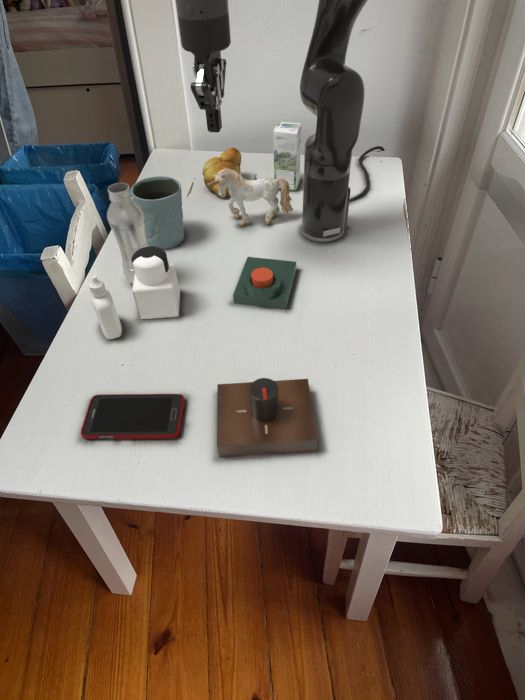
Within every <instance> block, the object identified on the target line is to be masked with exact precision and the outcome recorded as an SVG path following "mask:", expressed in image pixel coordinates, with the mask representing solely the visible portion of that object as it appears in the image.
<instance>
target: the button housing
mask: <svg viewBox="0 0 525 700" xmlns="http://www.w3.org/2000/svg"><path fill="white" fill-rule="evenodd" d="M257 268H268V269H270V270H271V271H272V272H273V284H272V285H271V286H270V287H266V288H257V287H255V286H253V284H252V278H251V274H252V272H253V271H254V270H255V269H257ZM296 273H297V261H293V260H283V259H274V258H263V257H255V256H247V257H246V260H245V262H244V265H243V268H242V271H241V273H240V276H239V277H238V278H239V279H238V281H237V283H236V285H235V289H234V292H233V294H232V297H233V304H234V305H242V306H243V305H244V306H250V307H251V306H253V307H259V308H268V309H276V310H287V307H288V303H289V300H290V297H291V296H290V295H291V292H292V288H293V284H294V280H295V277H296Z"/></svg>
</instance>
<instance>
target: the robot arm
mask: <svg viewBox="0 0 525 700" xmlns="http://www.w3.org/2000/svg"><path fill="white" fill-rule="evenodd" d="M174 1H175V7H176V15H177V23H178V29H179V37H180V43H181V47H182V49H183V50H184V51H186V52H188V53H191V54H192V55H193V57H194V58H193V64H192V70H193V71H192V72H193V76H194V78H195V82H194V81H192V82H191V83H190V90H191V93H192V95H193V97H194V99H195V102H196V104H197V106H198V108H199V110H201V111H202V110H204V111H205V119H206V127H207V131H208V132H209V133H220V132H221V130H222V128H223V121H222V111H221V106H222V104H223V100H222V99H224V97H225V86H226V85H225V84H226V72H227V71H226V70H227V59H226V58H221V57H222V51H224V50H226V49H228V48H229V47H230V46H231V44H232V43H231V42H232V40H231V24H230V12H229V0H174ZM367 2H368V0H318V3H317V11H316V15H315V21H314V26H313V30H312V34H311V37H310V41H309V45H308V48H307V53H306V57H305V60H304V63H303V64H304V65H303V67H302V72H301V75H300V81H299V82H300V83H299V94H300V96H299V97H300V100H301V102H302V104H303V106H304V107H305V109H307V110H308V111H309V112H310V113H312V114H313V115H314V116H316V126H315V133H313V134H311V135H309V136H308V137H307V138H306V139H305V142H304V153H303V154H304V158H303V183H302V184H303V185H302V187H303V188H302V209H301V210H302V213H301V228H300V231H301V233H302V235H303V236H304V237H305V238H306V239H308V240H310V241H312V242H315V243H331V242H334V241H337V240H339V239H341V238H342V237H343V235H344V233H345V229H346V228H347V227H348V226H347V225H348V217H349V216H348V215H349V207H350V203H351V202H353V201H356V200H358V199H360V198H361V197H363V196H364V195H365V194H366V193H367V192H368V190H369V188H370V178H369V173H368V170H367V168H366V167H365V165H364V163H363V162H362V161H363V158H364V157H365V156H367V155H368V154H370V153H371V152H373V151H374V150H381V151H385V147H383V146H381V145H377V146H372V147H371V148H369V149H368V150H366V151H364V152H363V153H362V154H361V155H360V156H359V158H358V164H359V166H360V167H361V170H363V173H364V178H365V187H364V190H363V191H362V192H360V193H359V194H357V195H356V196H354V197H352V198H351V191H352V190H351V188H350V178H351V177H350V176H351V166H352V159H353V150H354V149H355V146H356V145H357V141H358V139H359V135H360V129H361V123H362V116H363V111H364V106H365V105H364V104H365V84H364V79H363V78H362V76H361V74H360V73H359V72H357V70H354V69H353V68H351V67H350V66H347V65H346V57H347V52H348V47H349V44H350V40H351V35H352V31H353V29H354V26H355V23H356V21H357V19H358V17H359V15H360V14H361V12H362V10H363V8H364V7H365V5H366V4H367Z"/></svg>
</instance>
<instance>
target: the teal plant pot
mask: <svg viewBox="0 0 525 700" xmlns="http://www.w3.org/2000/svg"><path fill="white" fill-rule="evenodd" d="M130 191H131V193H132V198H131V199H133V200H134V201H135V202H137V203H138V204H139V205H140V207H141V208H142V210H143V212H144V216H145V228H146V235H147V240H148V244H149V246H155V247H159V248H161V249H163V250H168V249H172V248H175V247H177V246H179V245H180V244H181V243H182V242H183V241H184V240H185V227H184V222H183V219H184V212H183V202H182V201H183V195H182V184H181V183H180V181H179V180H177V179H175V178H173V177H170V176H166V175H165V176H164V175H161V176H159V175H158V176H151V177H146V178H142V179H141V180H139V181H137V182H135V183H134V184H133V185H132V186H131V187H130Z"/></svg>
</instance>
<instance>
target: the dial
mask: <svg viewBox="0 0 525 700" xmlns="http://www.w3.org/2000/svg"><path fill="white" fill-rule="evenodd" d="M274 381H275V380H273V379H271V378H267V377H260V378H257V379H256V380H254V381H252V382H253V383H252V384H251V386H250V402H251V413H252V415H253V416H254V417H255V418H256V419H257V420H260V421H270V420H272V419H274V418H275V417H276V416H277V414H278V386H277V384H276V383H275V382H274Z"/></svg>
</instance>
